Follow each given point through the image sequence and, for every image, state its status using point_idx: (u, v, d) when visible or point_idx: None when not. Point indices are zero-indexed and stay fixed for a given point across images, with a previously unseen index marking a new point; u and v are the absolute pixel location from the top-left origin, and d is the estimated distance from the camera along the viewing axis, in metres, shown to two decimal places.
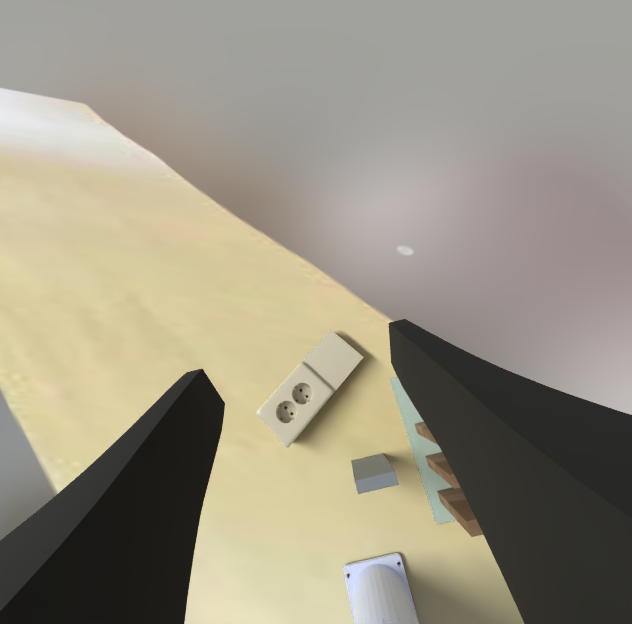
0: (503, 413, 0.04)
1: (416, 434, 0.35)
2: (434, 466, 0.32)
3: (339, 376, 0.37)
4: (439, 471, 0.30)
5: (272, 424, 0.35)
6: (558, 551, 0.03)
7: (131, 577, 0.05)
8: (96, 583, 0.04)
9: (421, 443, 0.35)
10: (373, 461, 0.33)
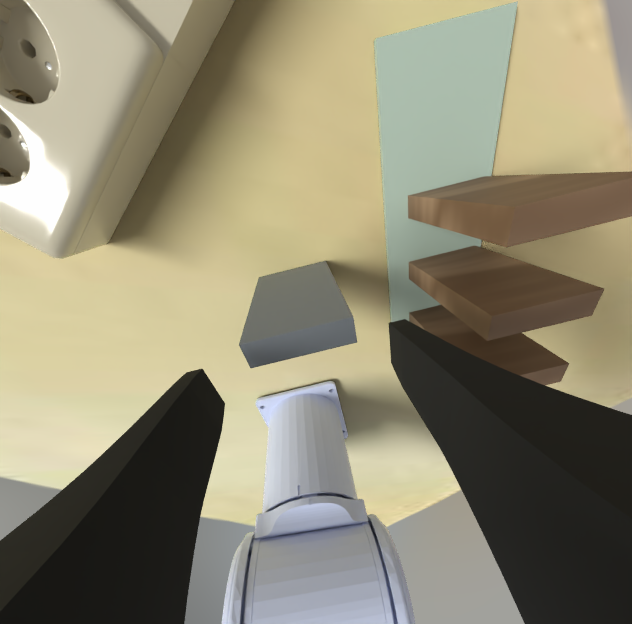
0: (504, 414, 0.04)
1: (405, 220, 0.15)
2: (430, 284, 0.15)
3: None
4: (444, 296, 0.13)
5: None
6: (558, 551, 0.03)
7: (131, 577, 0.05)
8: (96, 582, 0.04)
9: (410, 238, 0.16)
10: (303, 280, 0.14)
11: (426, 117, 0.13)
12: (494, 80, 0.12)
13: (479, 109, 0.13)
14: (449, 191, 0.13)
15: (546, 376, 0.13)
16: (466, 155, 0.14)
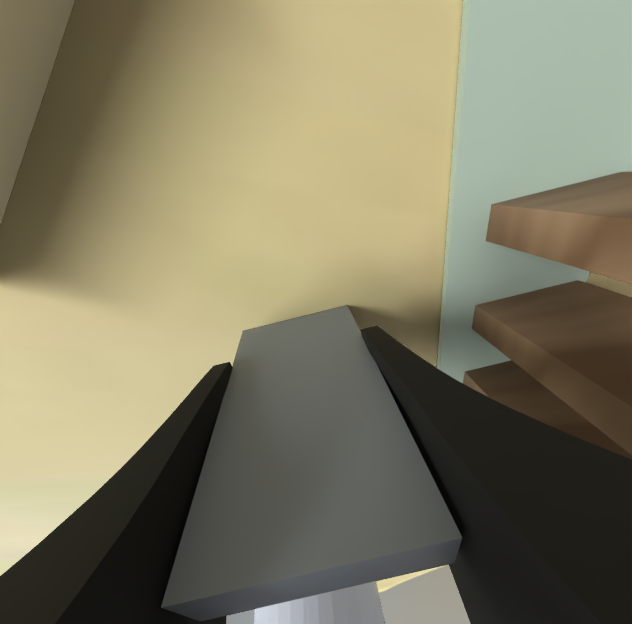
0: (446, 427, 0.04)
1: (480, 244, 0.09)
2: (530, 354, 0.09)
3: None
4: (571, 388, 0.07)
5: None
6: (488, 567, 0.03)
7: None
8: (153, 569, 0.04)
9: (483, 272, 0.10)
10: (314, 351, 0.08)
11: (549, 60, 0.07)
12: None
13: None
14: (593, 199, 0.07)
15: None
16: (602, 134, 0.08)
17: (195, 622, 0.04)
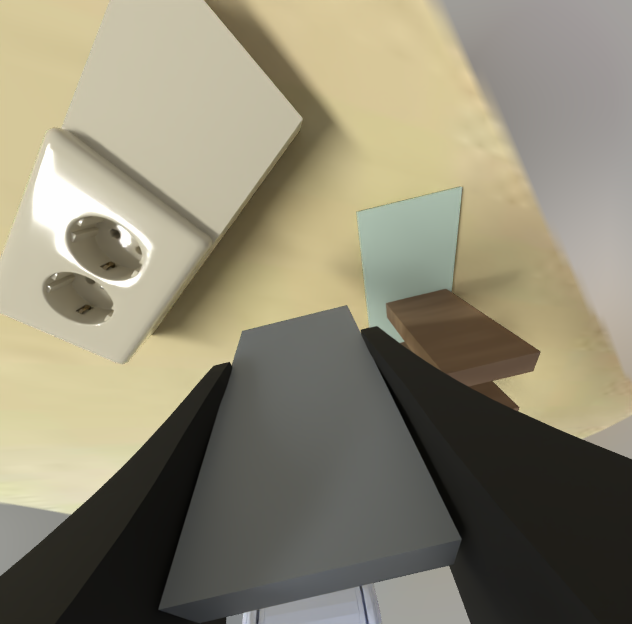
0: (447, 428, 0.04)
1: (384, 318, 0.19)
2: None
3: (224, 192, 0.12)
4: None
5: (56, 329, 0.13)
6: (488, 567, 0.03)
7: None
8: (153, 569, 0.04)
9: (389, 330, 0.20)
10: (314, 351, 0.08)
11: (397, 255, 0.17)
12: (448, 231, 0.16)
13: (438, 248, 0.17)
14: (415, 312, 0.17)
15: None
16: (430, 276, 0.18)
17: (195, 622, 0.04)
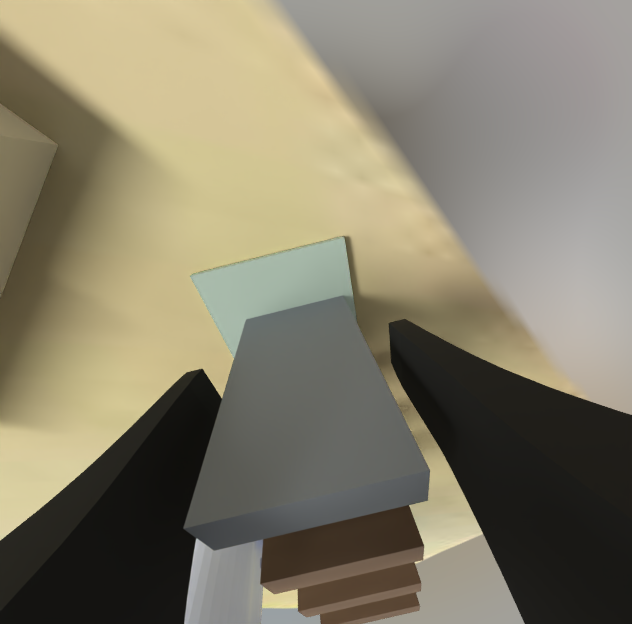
0: (503, 414, 0.04)
1: None
2: None
3: None
4: None
5: None
6: (558, 551, 0.03)
7: (131, 577, 0.05)
8: (96, 583, 0.04)
9: None
10: (312, 334, 0.09)
11: None
12: (339, 294, 0.11)
13: None
14: None
15: (399, 612, 0.12)
16: None
17: None
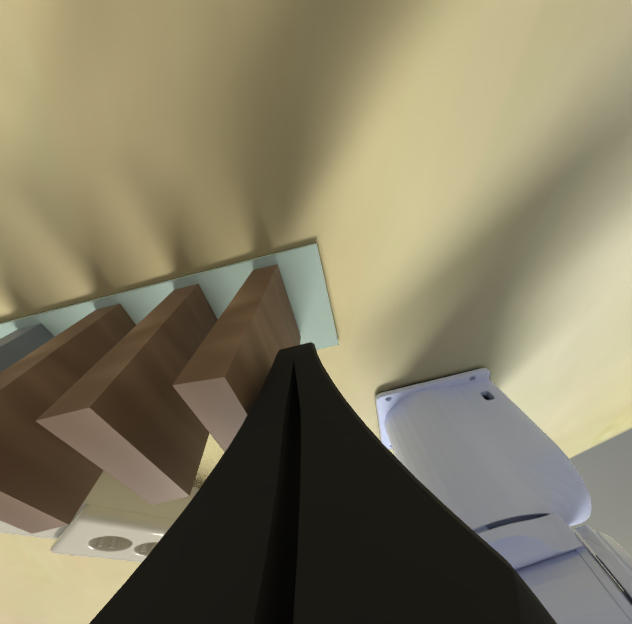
0: (312, 459, 0.04)
1: None
2: None
3: None
4: None
5: None
6: None
7: None
8: (293, 536, 0.04)
9: None
10: None
11: None
12: None
13: None
14: None
15: (214, 408, 0.06)
16: None
17: None
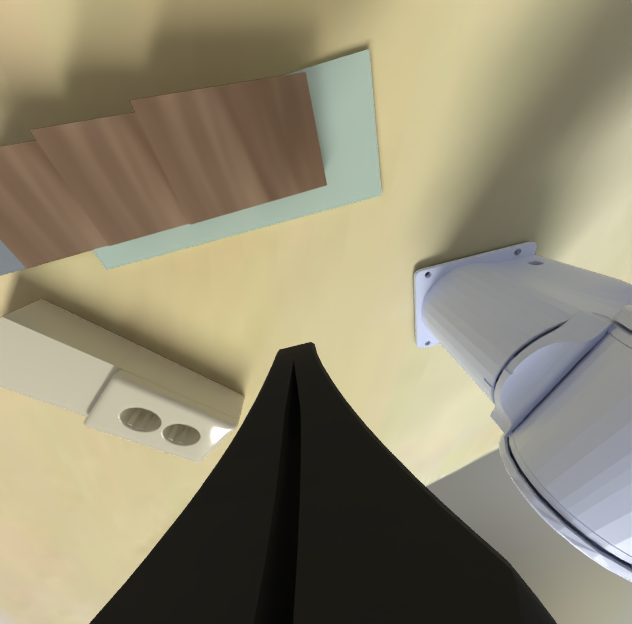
0: (312, 459, 0.04)
1: (215, 218, 0.15)
2: None
3: (81, 361, 0.17)
4: None
5: (207, 446, 0.22)
6: None
7: None
8: (293, 537, 0.04)
9: None
10: None
11: None
12: None
13: None
14: None
15: None
16: None
17: None
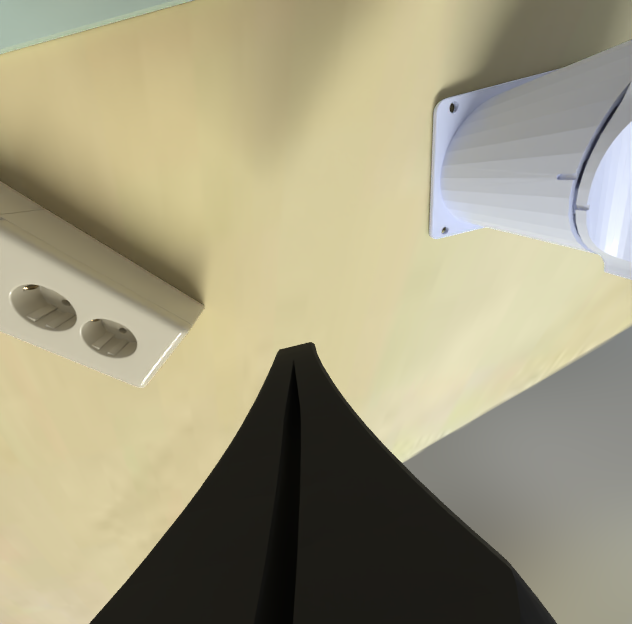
0: (313, 459, 0.04)
1: None
2: None
3: None
4: None
5: (149, 360, 0.16)
6: None
7: None
8: (293, 537, 0.04)
9: None
10: None
11: None
12: None
13: None
14: None
15: None
16: None
17: None
